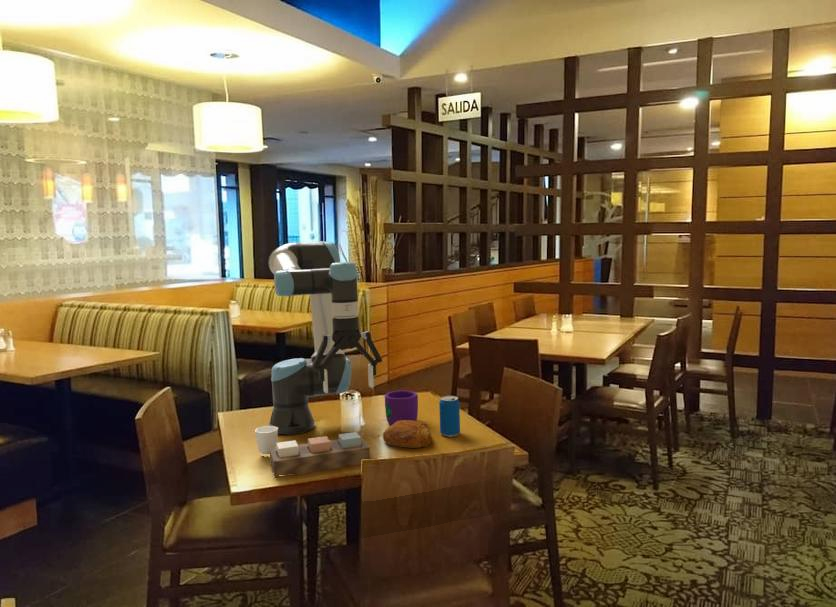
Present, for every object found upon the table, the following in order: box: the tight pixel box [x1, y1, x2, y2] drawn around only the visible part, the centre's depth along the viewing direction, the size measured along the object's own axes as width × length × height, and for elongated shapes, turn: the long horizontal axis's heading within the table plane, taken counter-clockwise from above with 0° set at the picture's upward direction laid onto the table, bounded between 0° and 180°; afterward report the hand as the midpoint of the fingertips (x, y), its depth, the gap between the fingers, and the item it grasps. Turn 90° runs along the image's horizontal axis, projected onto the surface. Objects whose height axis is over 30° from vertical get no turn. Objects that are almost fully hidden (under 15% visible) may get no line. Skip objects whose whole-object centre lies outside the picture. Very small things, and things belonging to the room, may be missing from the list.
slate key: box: [338, 431, 362, 449], centre depth 185 cm, size 5×5×4 cm
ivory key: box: [276, 439, 299, 458], centre depth 180 cm, size 5×5×4 cm
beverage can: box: [438, 395, 461, 438], centre depth 204 cm, size 6×6×12 cm
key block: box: [269, 435, 371, 477], centre depth 183 cm, size 27×11×4 cm, turn 109°
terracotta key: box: [307, 435, 330, 453], centre depth 182 cm, size 5×5×4 cm
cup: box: [254, 425, 279, 454], centre depth 192 cm, size 7×10×8 cm
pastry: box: [382, 420, 433, 449], centre depth 199 cm, size 14×16×8 cm
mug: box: [384, 389, 419, 426], centre depth 222 cm, size 17×11×10 cm, turn 26°
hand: (348, 389), depth 184 cm, fingers open, 13 cm apart
